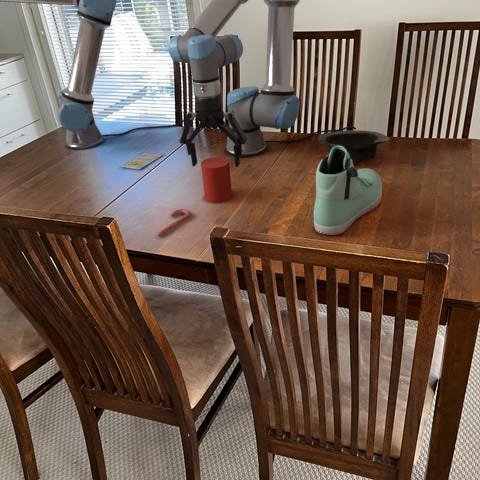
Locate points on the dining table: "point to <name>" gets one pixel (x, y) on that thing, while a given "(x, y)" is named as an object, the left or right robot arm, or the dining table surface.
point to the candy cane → (177, 222)
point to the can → (216, 179)
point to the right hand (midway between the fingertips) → (216, 165)
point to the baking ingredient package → (141, 161)
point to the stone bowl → (354, 143)
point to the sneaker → (343, 192)
